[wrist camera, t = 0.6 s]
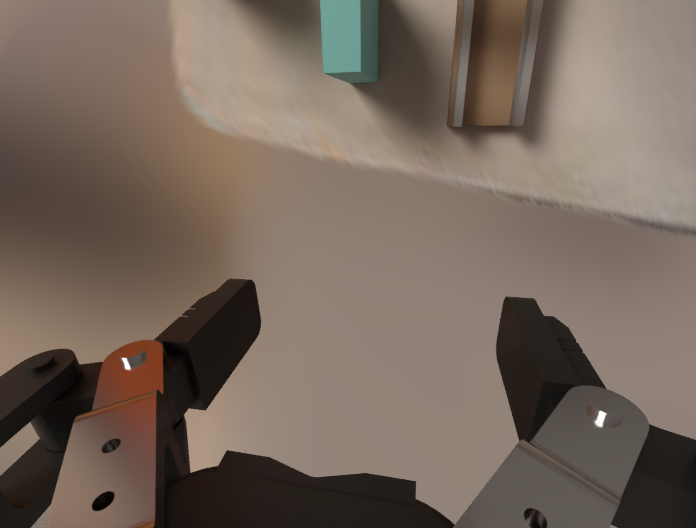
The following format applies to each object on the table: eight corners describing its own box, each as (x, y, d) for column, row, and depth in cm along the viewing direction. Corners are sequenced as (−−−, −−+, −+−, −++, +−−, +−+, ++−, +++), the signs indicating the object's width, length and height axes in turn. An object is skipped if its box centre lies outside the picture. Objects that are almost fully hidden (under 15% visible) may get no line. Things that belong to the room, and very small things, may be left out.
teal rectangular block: (348, -17, 28) (317, -70, 20) (379, -20, 27) (360, -75, 19) (350, 83, 30) (323, 73, 22) (377, 82, 30) (360, 71, 22)
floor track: (465, -90, 25) (470, -116, 22) (552, -101, 24) (570, -130, 21) (447, 125, 30) (449, 127, 27) (517, 124, 29) (527, 126, 26)
